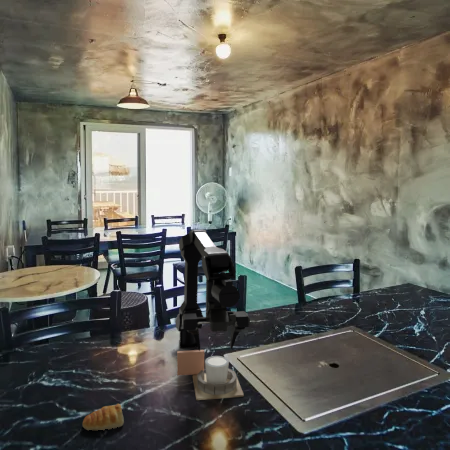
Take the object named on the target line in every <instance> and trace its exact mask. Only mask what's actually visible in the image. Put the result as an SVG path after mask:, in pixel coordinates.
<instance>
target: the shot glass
mask: <svg viewBox="0 0 450 450" xmlns="http://www.w3.org/2000/svg"><path fill="white" fill-rule="evenodd" d="M229 364H230V361H229V359H228V358H227V357H225V356H221V355H212V356H209V357H207V358H205V359H204V369H205V373H206V380H207V383H211V384H224V383H227V374H228V368H229V366H230V365H229Z"/></svg>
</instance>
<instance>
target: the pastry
mask: <svg viewBox="0 0 450 450" xmlns="http://www.w3.org/2000/svg"><path fill="white" fill-rule="evenodd" d="M122 410H123V409H122V405H121V404H120V403H116V404H113V405H105V406H102V407H101V408H99V409H98V410H95V411H92V412H91V413H89V414H87V415H85V416H84V418H83V420H82V428H84V430H87V431H89V430H92V431H98V430H103V431H106V430H105V429H108V430H113V429H117V427H118V428H120V427H122V426H123V425H124V423H125V421H124V420H125V419H124V415H123V411H122ZM112 428H113V429H112Z"/></svg>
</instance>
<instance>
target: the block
mask: <svg viewBox="0 0 450 450" xmlns="http://www.w3.org/2000/svg"><path fill="white" fill-rule="evenodd" d="M176 359H177V360H176V361H177V363H176V367H177V368H176V373H177V376H189V375H191V376H192V374H198V373H199V372H200V371H201V370H203V371H204V372H205V349H200V351H199V350H198V349H194V350H177V354H176Z"/></svg>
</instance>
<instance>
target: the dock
mask: <svg viewBox="0 0 450 450" xmlns="http://www.w3.org/2000/svg"><path fill="white" fill-rule="evenodd" d="M191 377H192V381H193V388H194V393H195V400H196V401H204V400H205V401H206V400H216V399H229V398H241V397H244V396H245V395H244V391H243V390H242V386H241V385H240V381H239V378H238V376H237V374H236V371H234V370H233V369H231V368H229V367H228V374H227V383H224V384H211V383H207V380H206V372H205V370H204V371H203V370H201V371H200V372H199V373H198V374H192V375H191Z"/></svg>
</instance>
